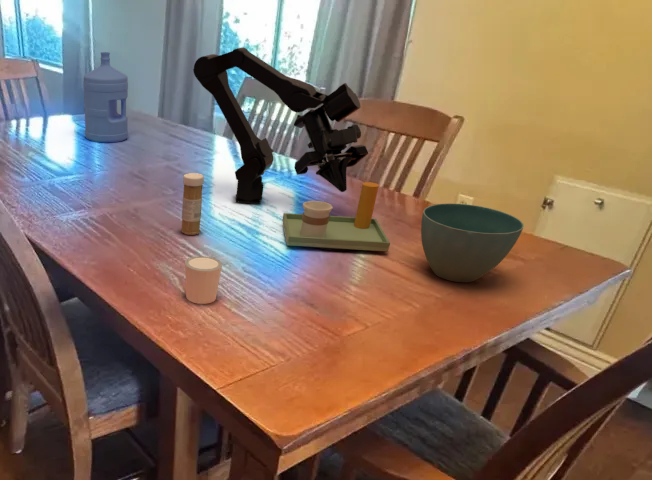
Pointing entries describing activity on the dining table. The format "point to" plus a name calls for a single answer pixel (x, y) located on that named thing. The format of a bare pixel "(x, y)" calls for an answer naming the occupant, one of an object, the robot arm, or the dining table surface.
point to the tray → (344, 227)
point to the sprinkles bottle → (192, 203)
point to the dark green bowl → (466, 239)
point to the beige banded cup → (315, 219)
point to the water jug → (105, 103)
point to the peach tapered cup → (202, 279)
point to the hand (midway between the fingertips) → (344, 191)
